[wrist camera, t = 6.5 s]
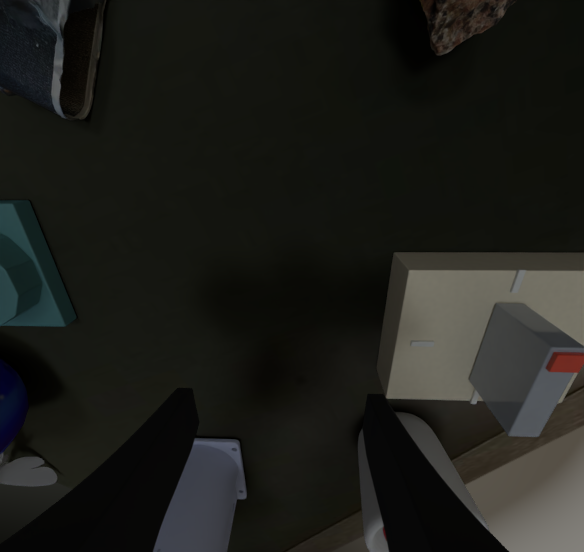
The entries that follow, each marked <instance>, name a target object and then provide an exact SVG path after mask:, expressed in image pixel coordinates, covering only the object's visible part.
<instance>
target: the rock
mask: <svg viewBox="0 0 584 552" xmlns="http://www.w3.org/2000/svg"><path fill="white" fill-rule="evenodd" d="M515 1H516V0H420V2H421V5H422V7H423V11H424V12H425V15H426V19H427V30H428V34H429V37H430V46H431V48H432V50H434V52H435V54H436V55H439V56H440V55H443V54H446V53H448V52H450V51H451V50H452V49H453V48H454V47H455V46H456V45H459V44H461V43H462V42H463V41H466V40H467V39H469V38H470V37H471V36H472V35H474V34H479V33H482V32H483V31H485V30H487V29H488V28H490V27H492V26H494V25H496V24H497V23H498V22H499V20H500V19H501V18H502V17H503V15H504V14H505V12H506V9H507V8H508V7H509V6H511V5H512V4H513V3H514V2H515Z"/></svg>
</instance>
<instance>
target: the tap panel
mask: <svg viewBox="0 0 584 552" xmlns="http://www.w3.org/2000/svg"><path fill="white" fill-rule="evenodd" d="M496 303H519V304H525V305H527V306H528V307H529V308H531V309H532V310H534V311H535V312H536V313H538V314H539V315H541V316H542V317H543V318H545V319H546V320H548V321H549V322H551V323H552V324H553V325H555V326H556V327H558V328H559V329H560V330H562V331H563V332H565V333H566V334H568V335H569V336H570V337H572V338H573V339H575V340H576V341H577V342H579V343H580V344H582V345H583V346H584V253H534V252H394V254H393V260H392V267H391V274H390V280H389V287H388V294H387V300H386V307H385V314H384V320H383V327H382V334H381V340H380V347H379V354H378V360H377V367H376V369H377V372H378V375H379V378H380V381H381V384H382V388H383V391H384V394H385V397H386V398H387V399H424V400H464V401H470V403H471V404H476V403H477V401H483V399H482V398H481V396H480V395H479V394H478V392H477V391H476V389H475V388H474V387H473V385H472V384H471V382H470V381H469V378H470V375H471V373H472V370H473V367H474V364H475V361H476V359H477V356H478V353H479V350H480V347H481V344H482V342H483V339H484V336H485V333H486V330H487V327H488V325H489V322H490V319H491V316H492V313H493V311H494V308H495V305H496ZM577 374H578V373H574V374H573V376H572V378H571V380H570V381H569V383H568V385H567V387H566V389H565V390H564V392H563V394H562V396H561V397H560V399H559V401H558V403H562V401H563V399H564V397H565V395H566V394H567V392H568V390H569V388H570V386H571V385H572V383H573V381H574V379H575V378H576V376H577Z"/></svg>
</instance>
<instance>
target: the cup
mask: <svg viewBox="0 0 584 552" xmlns="http://www.w3.org/2000/svg"><path fill="white" fill-rule="evenodd" d="M395 413H396V415H397V417H398V418H399V420H400V421H401V423H402V424H403V426H404V427H405V429H406V430H407V432H408V433H409V434H410V436H411V437H412V439H413V440H414V441H415V443H416V444H417V446H418V447H419V448H420V450H421V451H422V453H423V454H424V455H425V457H426V458H427V459H428V461H429V462H430V463H431V465H432V466H433V467H434V468H435V470H436V471H437V472H438V473H439V475H440V476H441V477H442V479H443V480H444V481H445V482H446V483H447V485H448V486H449V487H450V488H451V489H452V491H453V492H454V493H455V494H456V495H457V496H458V498H459V499H460V500H461V501H462V502H463V503H464V505H465V506H466V507H467V508H468V509H469V510H470V511H471V512H472V513H473V515H474V516H475V517H476V518H477V519H478V520H479V521H480V522H481V523H482V524H483V526H484V527H485V528H486V529H487V530H488V531H489V528H488V525H487V523H486V521H485V519H484V518H483V516H482V514H481V512H480V511H479V509H478V507H477V506H476V504H475V502H474V500H473V499H472V497H471V495H470V493H469V492H468V490H467V488H466V486H465V485H464V483H463V481H462V480H461V478H460V476H459V474H458V473H457V471H456V469H455V467H454V466H453V464H452V462H451V461H450V459H449V457H448V455H447V454H446V452H445V450H444V448H443V447H442V445H441V443H440V442H439V440H438V438H437V437H436V435H435V433H434V432H433V431H432V429H431V428H430V427H429V426H428V425H427V424H426V422H424V421H423V420H422V419H420V418H419V417H417V416H415V415H412V414H409V413H405V412H395ZM358 461H359V474H360V488H361V501H362V515H363V528H364V538H365V542H366V545H367V548H368V549H369V551H370V552H389V550H388V544H387V539H386V534H385V530H384V525H383V521H382V517H381V513H380V509H379V505H378V501H377V497H376V493H375V489H374V485H373V481H372V477H371V473H370V469H369V465H368V461H367V457H366V450H365V444H364V437H363V430H362V429H361V431H360V434H359V438H358Z"/></svg>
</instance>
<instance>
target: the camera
mask: <svg viewBox="0 0 584 552" xmlns="http://www.w3.org/2000/svg"><path fill="white" fill-rule="evenodd" d="M105 4H106V0H0V90H1V91H2V92H3V93H4V94H6V95H8V96H12V95H19V96H22V97H24V98H26V99H28V100H30V101H32V102H34V103H36V104H38V105H40V106H42V107H44V108H46V109H48V110H50V111H52V112H54V113H56V114H58V115H60V116H61V117H62V118H65V119H68V120H70V121H74V120H77V119H80V120H82V119H85V118H86V116H87V115H88V113H89V111H90V109H91V106H92V101H93V93H94V88H95V80H96V75H97V67H98V59H99V55H100V48H101V41H102V28H103V13H104V8H105Z"/></svg>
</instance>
